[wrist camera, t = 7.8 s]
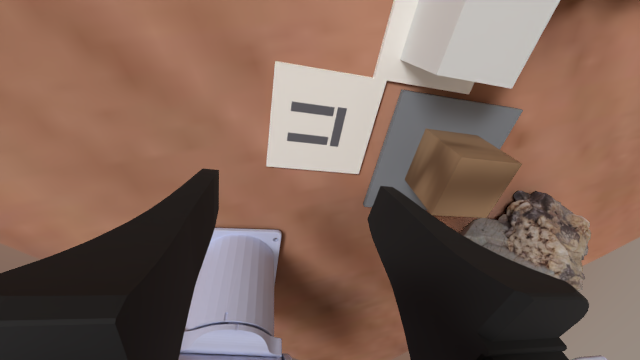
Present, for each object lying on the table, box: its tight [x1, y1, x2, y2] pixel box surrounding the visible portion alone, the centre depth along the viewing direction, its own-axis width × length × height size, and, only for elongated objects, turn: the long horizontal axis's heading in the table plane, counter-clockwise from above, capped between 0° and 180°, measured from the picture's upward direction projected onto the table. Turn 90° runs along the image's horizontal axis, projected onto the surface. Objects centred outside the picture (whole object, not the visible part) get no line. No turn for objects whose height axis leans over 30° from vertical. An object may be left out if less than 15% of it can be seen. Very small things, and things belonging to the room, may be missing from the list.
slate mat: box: [363, 90, 523, 210], centre depth 24 cm, size 11×11×1 cm
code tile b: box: [373, 0, 475, 94], centre depth 18 cm, size 8×8×1 cm
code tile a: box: [266, 61, 387, 174], centre depth 20 cm, size 8×8×1 cm
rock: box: [460, 191, 591, 291], centre depth 27 cm, size 9×12×10 cm
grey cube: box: [400, 0, 560, 89], centre depth 16 cm, size 5×5×5 cm
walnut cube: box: [405, 129, 522, 218], centre depth 21 cm, size 5×5×5 cm
